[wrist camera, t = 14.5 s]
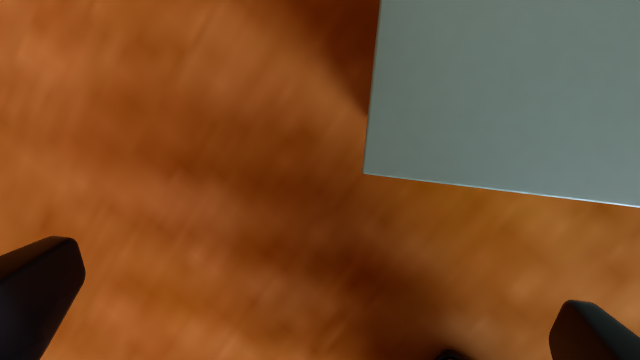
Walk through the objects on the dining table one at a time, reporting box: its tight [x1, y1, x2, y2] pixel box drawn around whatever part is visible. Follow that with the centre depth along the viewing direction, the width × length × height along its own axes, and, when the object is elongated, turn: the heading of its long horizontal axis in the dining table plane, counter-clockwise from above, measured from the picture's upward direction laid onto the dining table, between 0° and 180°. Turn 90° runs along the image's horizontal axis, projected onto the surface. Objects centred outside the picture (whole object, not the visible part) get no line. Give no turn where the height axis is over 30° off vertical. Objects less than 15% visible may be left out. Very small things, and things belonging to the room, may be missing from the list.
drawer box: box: [362, 0, 640, 207], centre depth 13 cm, size 10×12×7 cm
